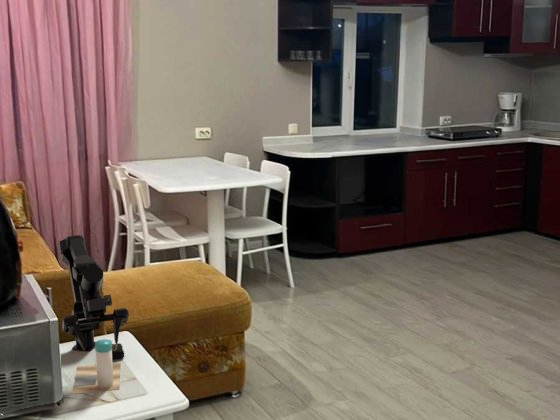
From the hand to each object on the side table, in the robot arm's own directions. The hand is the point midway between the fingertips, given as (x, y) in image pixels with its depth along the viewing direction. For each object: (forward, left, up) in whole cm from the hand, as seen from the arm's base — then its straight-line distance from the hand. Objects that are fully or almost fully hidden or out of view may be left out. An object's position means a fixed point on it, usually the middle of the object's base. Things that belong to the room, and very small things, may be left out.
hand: (100, 346), depth 197 cm
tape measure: (-16, -3, -11) cm, 20 cm away
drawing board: (-1, -2, -11) cm, 11 cm away
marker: (+3, +2, -10) cm, 11 cm away
